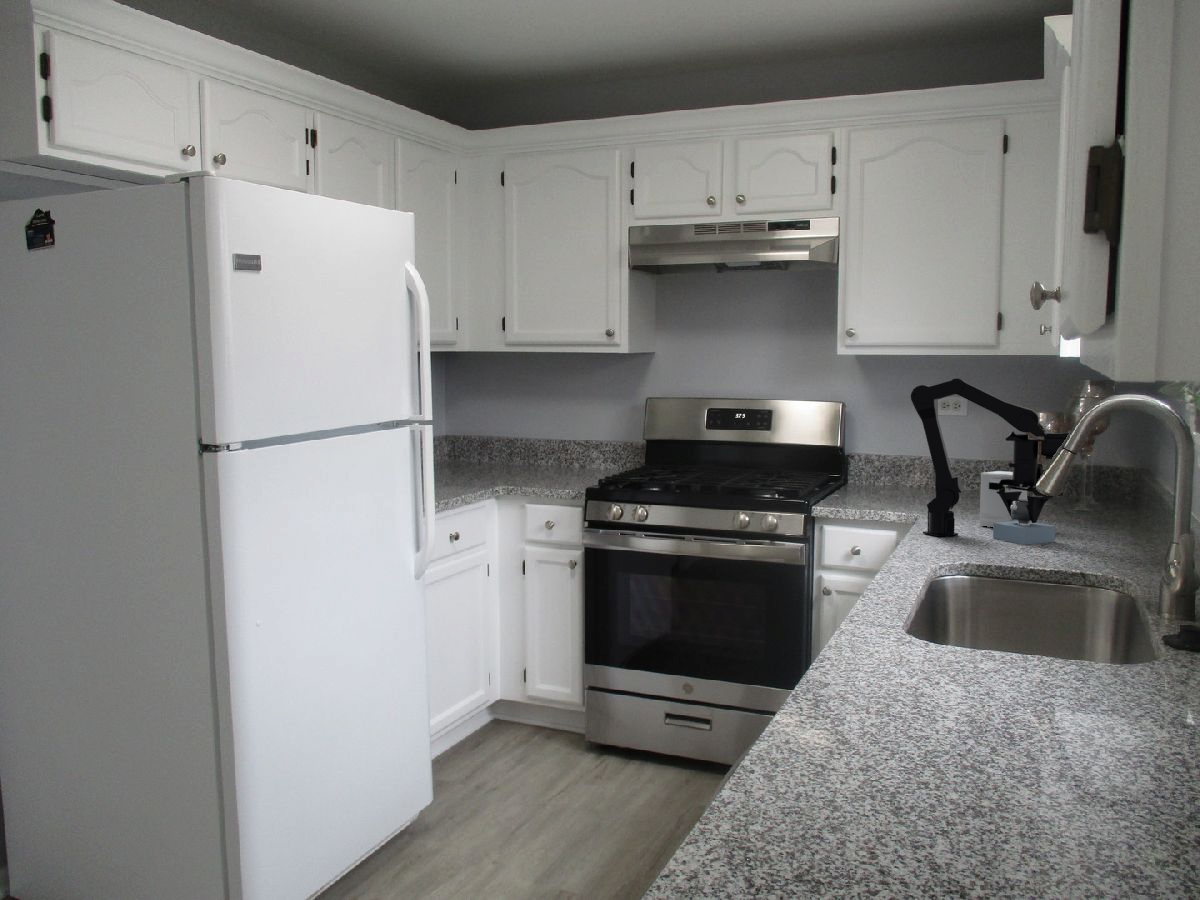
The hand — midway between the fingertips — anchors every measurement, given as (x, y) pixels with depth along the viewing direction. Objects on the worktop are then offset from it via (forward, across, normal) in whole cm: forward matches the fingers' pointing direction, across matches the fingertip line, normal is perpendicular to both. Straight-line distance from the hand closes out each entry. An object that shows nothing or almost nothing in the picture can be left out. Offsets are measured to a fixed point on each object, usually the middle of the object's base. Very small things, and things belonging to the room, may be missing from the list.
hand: (1023, 521), depth 238 cm
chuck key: (+3, 0, 0) cm, 3 cm away
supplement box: (+5, +19, -12) cm, 23 cm away
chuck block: (+5, 0, 0) cm, 5 cm away
